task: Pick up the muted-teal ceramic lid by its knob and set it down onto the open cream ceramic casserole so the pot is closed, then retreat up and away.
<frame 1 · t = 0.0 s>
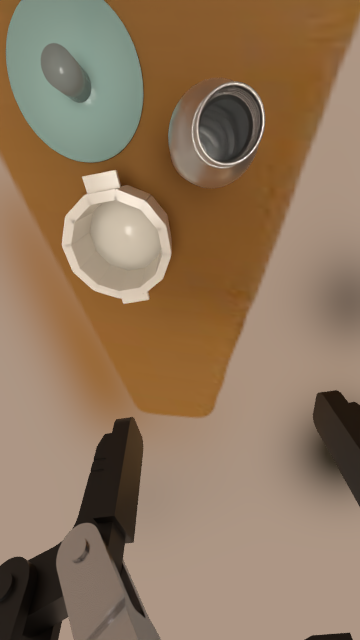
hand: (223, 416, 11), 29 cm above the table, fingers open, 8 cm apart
lid: (79, 87, 27), on the table
plastic bottle: (197, 152, 30), on the table
pot: (128, 234, 35), on the table
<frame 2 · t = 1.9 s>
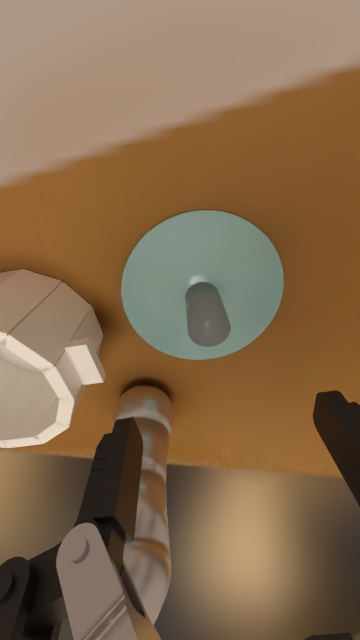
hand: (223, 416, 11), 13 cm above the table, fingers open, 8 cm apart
lid: (201, 293, 22), on the table
plastic bottle: (146, 395, 29), on the table
pot: (38, 330, 24), on the table
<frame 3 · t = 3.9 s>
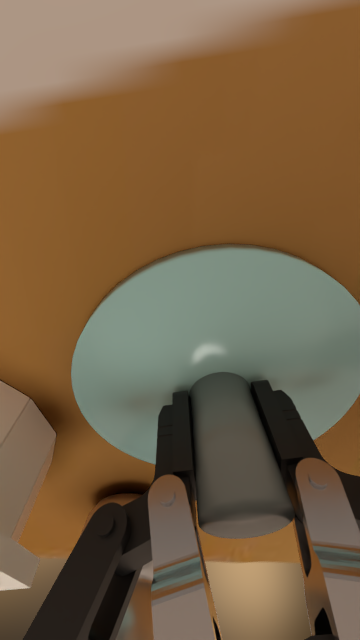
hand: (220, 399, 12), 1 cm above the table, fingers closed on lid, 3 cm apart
lid: (216, 379, 13), on the table, touching gripper
plastic bottle: (131, 498, 20), on the table
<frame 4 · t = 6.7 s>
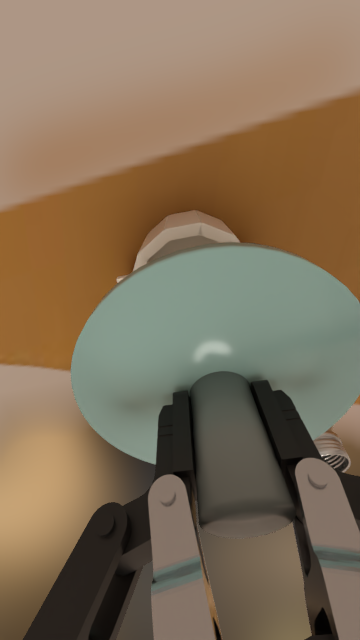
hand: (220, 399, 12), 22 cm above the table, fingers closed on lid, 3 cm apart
lid: (216, 379, 13), point 21 cm above the table, touching gripper
plastic bottle: (255, 325, 36), on the table
pot: (189, 263, 31), on the table
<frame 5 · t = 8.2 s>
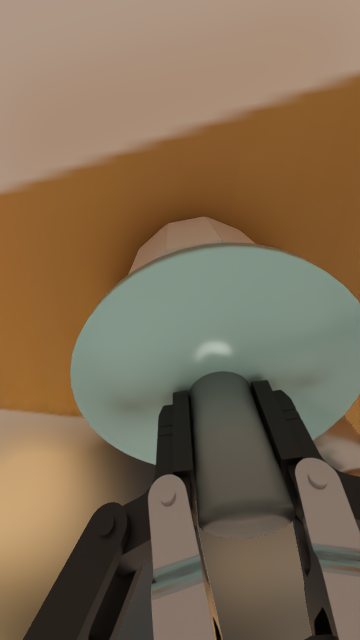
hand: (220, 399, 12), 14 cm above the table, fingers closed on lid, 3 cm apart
lid: (216, 379, 13), point 12 cm above the table, touching gripper
plastic bottle: (275, 359, 29), on the table
pot: (195, 285, 23), on the table
when the fingers open (11 cm above the table, at t = 9.5 s): lid drops 1 cm, resting on pot.
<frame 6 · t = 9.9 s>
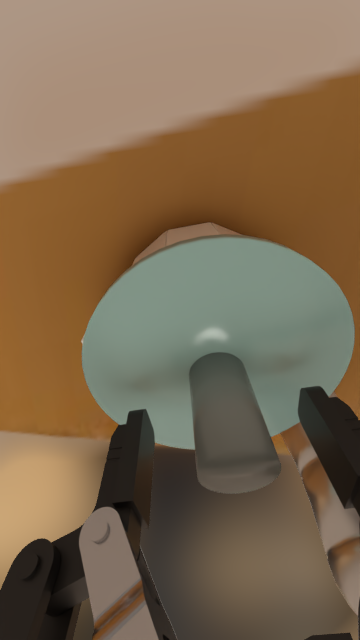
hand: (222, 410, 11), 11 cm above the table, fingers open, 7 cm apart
lid: (214, 361, 14), point 8 cm above the table, touching pot
plastic bottle: (285, 377, 26), on the table
pot: (198, 299, 21), on the table
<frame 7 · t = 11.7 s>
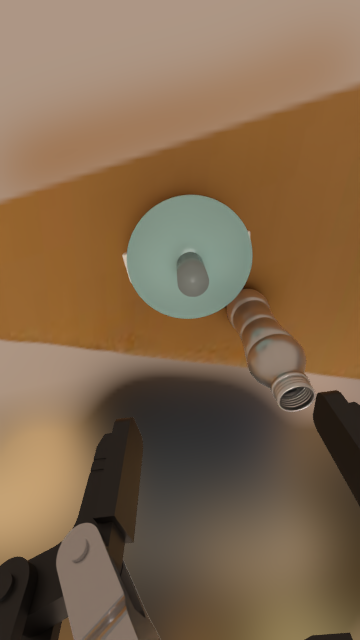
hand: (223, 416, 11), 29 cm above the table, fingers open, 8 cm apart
lid: (189, 262, 28), point 8 cm above the table, touching pot
plastic bottle: (242, 302, 40), on the table
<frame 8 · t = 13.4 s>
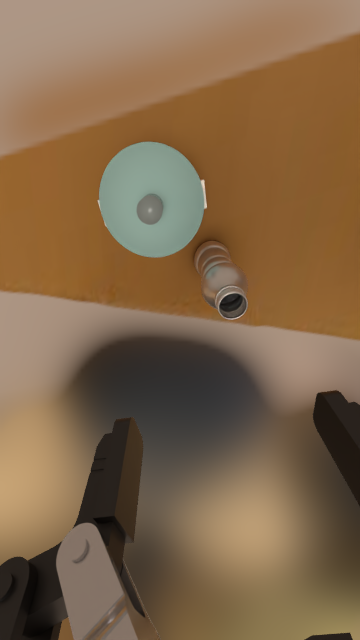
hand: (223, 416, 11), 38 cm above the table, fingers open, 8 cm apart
lid: (152, 205, 34), point 8 cm above the table, touching pot
plastic bottle: (209, 255, 46), on the table
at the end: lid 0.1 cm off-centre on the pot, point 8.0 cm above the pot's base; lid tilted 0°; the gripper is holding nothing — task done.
